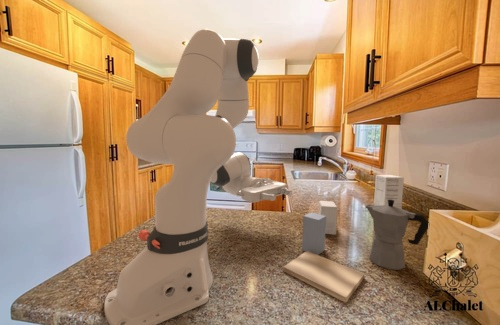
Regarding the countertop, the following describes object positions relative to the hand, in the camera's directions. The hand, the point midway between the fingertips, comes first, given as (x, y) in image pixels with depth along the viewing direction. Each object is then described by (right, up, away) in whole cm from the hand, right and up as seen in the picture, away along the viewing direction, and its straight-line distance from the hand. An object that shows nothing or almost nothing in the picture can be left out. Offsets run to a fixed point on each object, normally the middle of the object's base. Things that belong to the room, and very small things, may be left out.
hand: (283, 195), depth 76 cm
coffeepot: (+28, -17, -14) cm, 36 cm away
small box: (+18, -15, +9) cm, 25 cm away
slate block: (+8, -16, -7) cm, 19 cm away
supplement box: (+61, -13, +40) cm, 74 cm away
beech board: (+7, -17, -20) cm, 27 cm away
